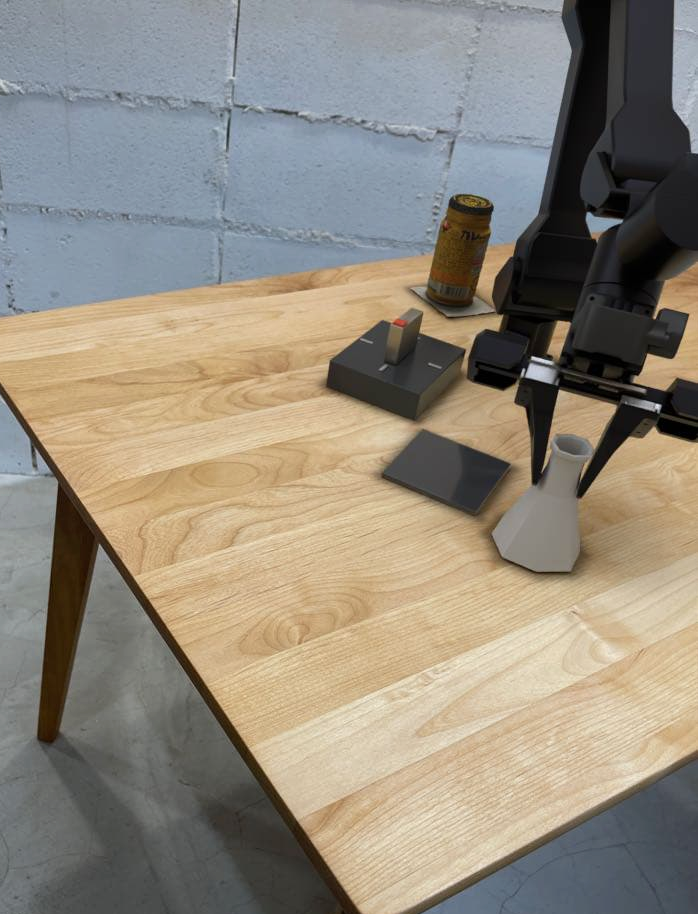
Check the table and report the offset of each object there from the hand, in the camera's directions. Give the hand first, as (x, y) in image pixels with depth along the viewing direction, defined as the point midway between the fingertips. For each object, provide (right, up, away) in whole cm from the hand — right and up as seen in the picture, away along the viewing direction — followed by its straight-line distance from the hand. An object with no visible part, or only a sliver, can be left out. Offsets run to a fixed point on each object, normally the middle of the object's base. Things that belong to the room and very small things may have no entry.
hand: (556, 491), depth 64 cm
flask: (0, -4, +5) cm, 7 cm away
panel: (-9, +13, +24) cm, 29 cm away
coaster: (-6, +2, +12) cm, 14 cm away
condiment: (0, +26, +41) cm, 48 cm away
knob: (-9, +15, +22) cm, 28 cm away
